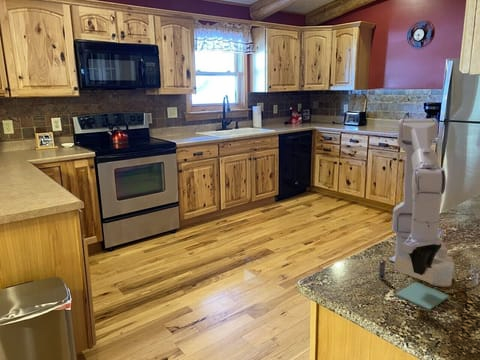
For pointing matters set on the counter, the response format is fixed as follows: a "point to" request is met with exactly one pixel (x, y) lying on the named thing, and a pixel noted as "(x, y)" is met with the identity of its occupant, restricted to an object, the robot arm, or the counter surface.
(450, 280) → the eye dropper bottle
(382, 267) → the pin
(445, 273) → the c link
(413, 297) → the mat
